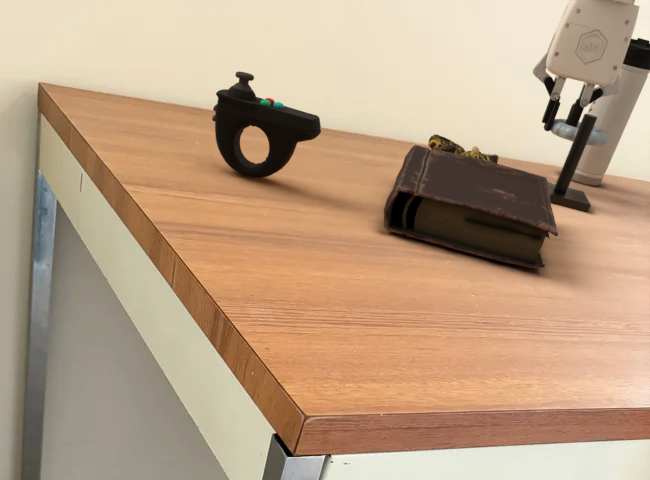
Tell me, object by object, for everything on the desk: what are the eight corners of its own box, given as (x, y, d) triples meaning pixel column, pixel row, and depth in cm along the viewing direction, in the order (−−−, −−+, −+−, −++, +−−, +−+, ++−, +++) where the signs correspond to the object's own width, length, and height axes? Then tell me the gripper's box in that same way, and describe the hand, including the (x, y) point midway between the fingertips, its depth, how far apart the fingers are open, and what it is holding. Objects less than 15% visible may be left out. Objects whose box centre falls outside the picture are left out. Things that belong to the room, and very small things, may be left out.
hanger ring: (601, 140, 126) (607, 127, 125) (610, 151, 119) (616, 138, 118) (545, 126, 127) (550, 114, 126) (550, 137, 120) (555, 123, 119)
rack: (580, 198, 122) (615, 118, 116) (587, 212, 116) (624, 128, 109) (528, 184, 123) (559, 103, 116) (532, 197, 116) (565, 112, 110)
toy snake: (439, 113, 126) (500, 136, 126) (426, 144, 129) (487, 166, 128) (431, 138, 112) (500, 163, 112) (417, 172, 115) (485, 197, 115)
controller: (213, 159, 98) (228, 65, 92) (310, 189, 96) (332, 95, 90) (199, 165, 95) (214, 68, 89) (300, 196, 93) (322, 99, 87)
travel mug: (603, 183, 135) (665, 44, 123) (595, 188, 130) (657, 44, 118) (567, 171, 137) (624, 33, 125) (557, 175, 132) (615, 33, 120)
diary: (377, 230, 88) (391, 182, 85) (397, 180, 108) (409, 140, 105) (548, 278, 87) (568, 230, 84) (536, 218, 107) (553, 178, 104)
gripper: (555, -27, 110) (504, 123, 121) (674, 1, 109) (612, 149, 120) (550, -28, 116) (502, 115, 127) (663, -2, 115) (605, 140, 126)
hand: (556, 130), depth 123 cm, fingers closed on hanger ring, 2 cm apart
